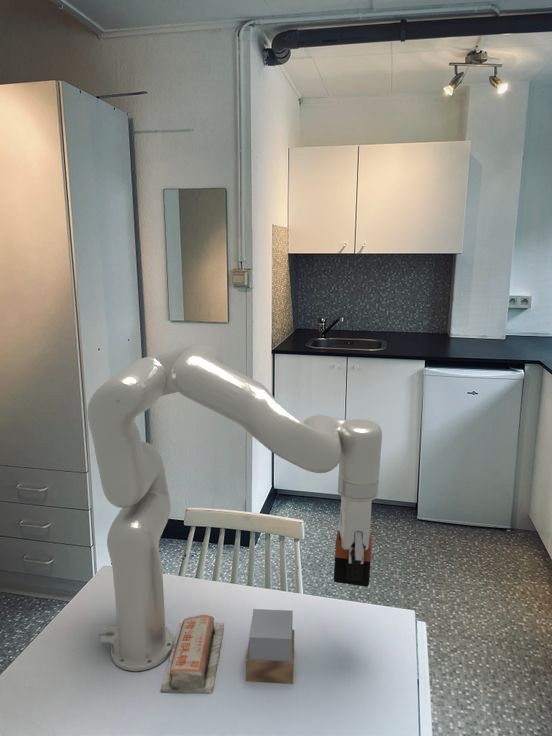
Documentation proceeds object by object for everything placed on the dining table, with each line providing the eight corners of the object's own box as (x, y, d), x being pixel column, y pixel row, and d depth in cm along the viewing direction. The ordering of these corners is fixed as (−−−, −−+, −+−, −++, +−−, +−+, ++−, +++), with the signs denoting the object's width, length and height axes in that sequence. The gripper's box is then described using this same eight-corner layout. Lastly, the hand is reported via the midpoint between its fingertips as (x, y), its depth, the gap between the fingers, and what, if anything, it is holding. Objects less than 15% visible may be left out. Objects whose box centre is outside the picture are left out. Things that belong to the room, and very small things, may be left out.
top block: (249, 659, 102) (249, 637, 101) (253, 630, 110) (253, 608, 109) (291, 661, 102) (291, 639, 101) (292, 631, 110) (292, 610, 108)
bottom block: (246, 682, 103) (245, 660, 102) (251, 648, 112) (250, 627, 111) (292, 685, 103) (293, 663, 101) (294, 650, 111) (294, 629, 110)
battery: (368, 588, 103) (372, 541, 100) (333, 583, 104) (335, 537, 101) (369, 574, 107) (372, 529, 104) (335, 570, 108) (337, 525, 106)
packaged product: (212, 674, 99) (159, 673, 99) (213, 696, 100) (160, 695, 100) (224, 609, 117) (178, 608, 117) (224, 628, 118) (179, 627, 118)
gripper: (335, 466, 109) (331, 546, 113) (341, 506, 92) (336, 598, 97) (372, 467, 109) (366, 547, 113) (385, 508, 92) (378, 600, 96)
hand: (352, 570), depth 105 cm, fingers closed on battery, 4 cm apart
